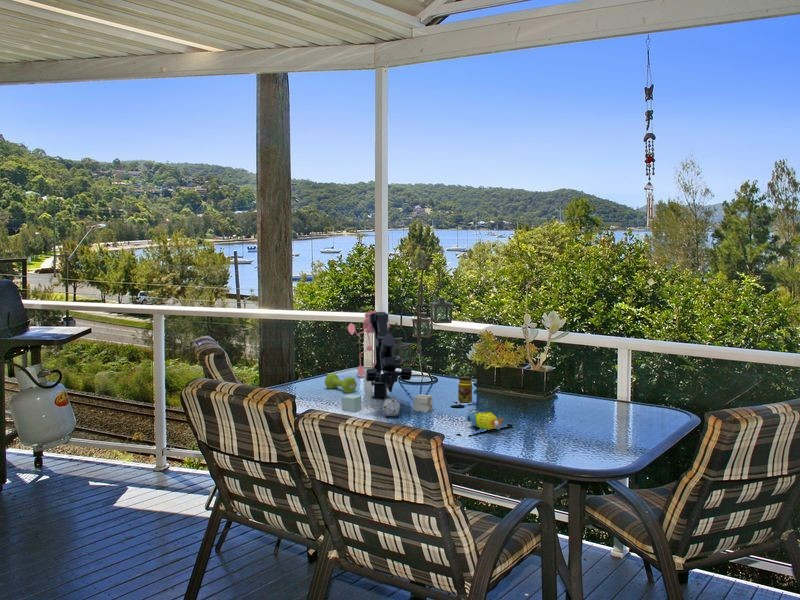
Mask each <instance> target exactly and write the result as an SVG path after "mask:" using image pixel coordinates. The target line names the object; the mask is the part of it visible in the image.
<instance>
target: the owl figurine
mask: <svg viewBox="0 0 800 600" xmlns="http://www.w3.org/2000/svg"><path fill="white" fill-rule="evenodd" d="M465 420H466V422H467V423H469V422H470V423H472V424H473V425H474V426H475V427H476V428H478V427H479V428H481V429H487V430H488V429H489V430H491V429H496V428H495V427H496V426H498V427H499V429H498V430H501V429H500V426H501V424H502V422H503V420H504V417H503V418H502V417H500V418H499V419H498V418H497V416H496V414H494V413H493V412H492V411H491V410H490V409H488V410H486V409H482V410H477V409H476V410H472V411H471V412H470V413H468V414H467V416H466V419H465ZM479 428H478V429H479ZM491 431H492V430H491Z"/></svg>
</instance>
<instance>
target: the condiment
mask: <svg viewBox="0 0 800 600" xmlns="http://www.w3.org/2000/svg"><path fill="white" fill-rule="evenodd" d="M458 380H459V382H458V387H457V388H458V391H457V393H458V394H457V398H458V399H457V401H459V402H460V403H470V402H472V403H473V383H472V377H471V376H469V375H464V376H463V375H462V376H459V379H458Z"/></svg>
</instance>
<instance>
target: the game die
mask: <svg viewBox="0 0 800 600" xmlns="http://www.w3.org/2000/svg"><path fill="white" fill-rule="evenodd" d="M383 400H384V401H383V404H382V406H381V407H379V410H382V412H383V413H384V414H385V415H386V417H385V418H387V419H388V417H394V416H395V417H396V416H397V417H398V418H399V415H398V414H399V412H400V409H401V407H403V406H404V405H403V404H401V403H399V401H398V400H397V396H395V397H394V398H390V397H389V398H385V397H384V399H383Z"/></svg>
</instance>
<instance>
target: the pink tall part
mask: <svg viewBox="0 0 800 600" xmlns="http://www.w3.org/2000/svg"><path fill="white" fill-rule="evenodd" d="M376 312H377V309H373V310H370V311H369V312H365V313H364V317H365V318H364V319H363V320H362V321H363V325H362V329H363V331H361V332H359V333H358V332H357V330H356V327H355V324H353V323H352V322H350V323H349V324H348V326H347V331H348V333H349V334H350V335H351V336H353V335H354V333H355V334H356V335H357V336H359V335H360V334H363V333H365V332H366V335H367V338H368V339H367V340H368V344H369V345H367V347H366V350H365V349H364V351H362V352H360V353H359V356H361V354H363V353H365V352H367V351H369V352H370V351H372V352H373V354H375V351H374V349H373V347H372V345H371V340H370V335H369V334H370V333H371V334H375V333H374V331H373V330H372V328H371V323H369V316H370V314H372V313H376ZM387 326H388V328H391V326H390V324H389V322H388V323H387ZM359 364H360V365H358V367H357V374H356V377H359V376H360V378H363V377H364V376H365V374H366V373H365V372H366V371H365V368H364V366H363V365H362V359H361V357H359ZM375 364H376V363H375V362H372V366H371V369H373V368H374V366H375Z"/></svg>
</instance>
